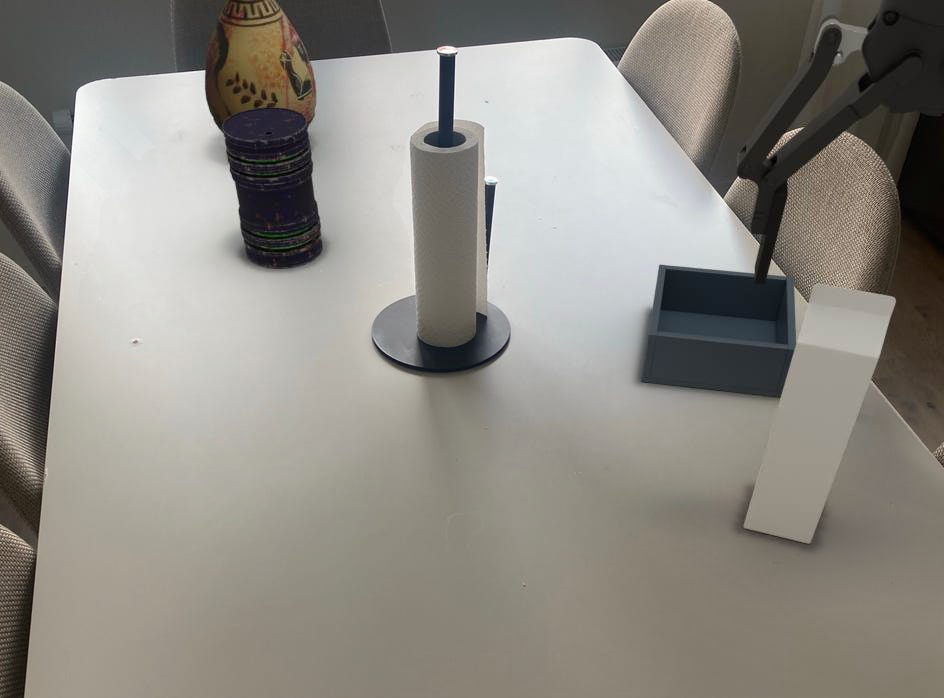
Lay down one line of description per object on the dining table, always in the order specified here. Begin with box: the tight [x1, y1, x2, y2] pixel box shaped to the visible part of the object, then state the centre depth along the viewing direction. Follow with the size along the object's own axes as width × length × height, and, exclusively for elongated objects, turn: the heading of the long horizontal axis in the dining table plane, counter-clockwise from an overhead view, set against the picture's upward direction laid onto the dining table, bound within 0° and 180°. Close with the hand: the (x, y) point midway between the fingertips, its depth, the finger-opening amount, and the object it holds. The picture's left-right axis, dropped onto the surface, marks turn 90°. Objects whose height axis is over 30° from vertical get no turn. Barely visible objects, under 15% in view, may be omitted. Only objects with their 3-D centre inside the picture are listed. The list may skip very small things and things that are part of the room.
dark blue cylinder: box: [222, 107, 324, 270], centre depth 114 cm, size 10×10×15 cm
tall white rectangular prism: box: [742, 283, 897, 545], centre depth 78 cm, size 6×6×22 cm
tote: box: [641, 264, 797, 398], centre depth 101 cm, size 15×15×6 cm
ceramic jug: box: [204, 0, 317, 135], centre depth 128 cm, size 17×15×30 cm
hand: (854, 285), depth 69 cm, fingers open, 13 cm apart
